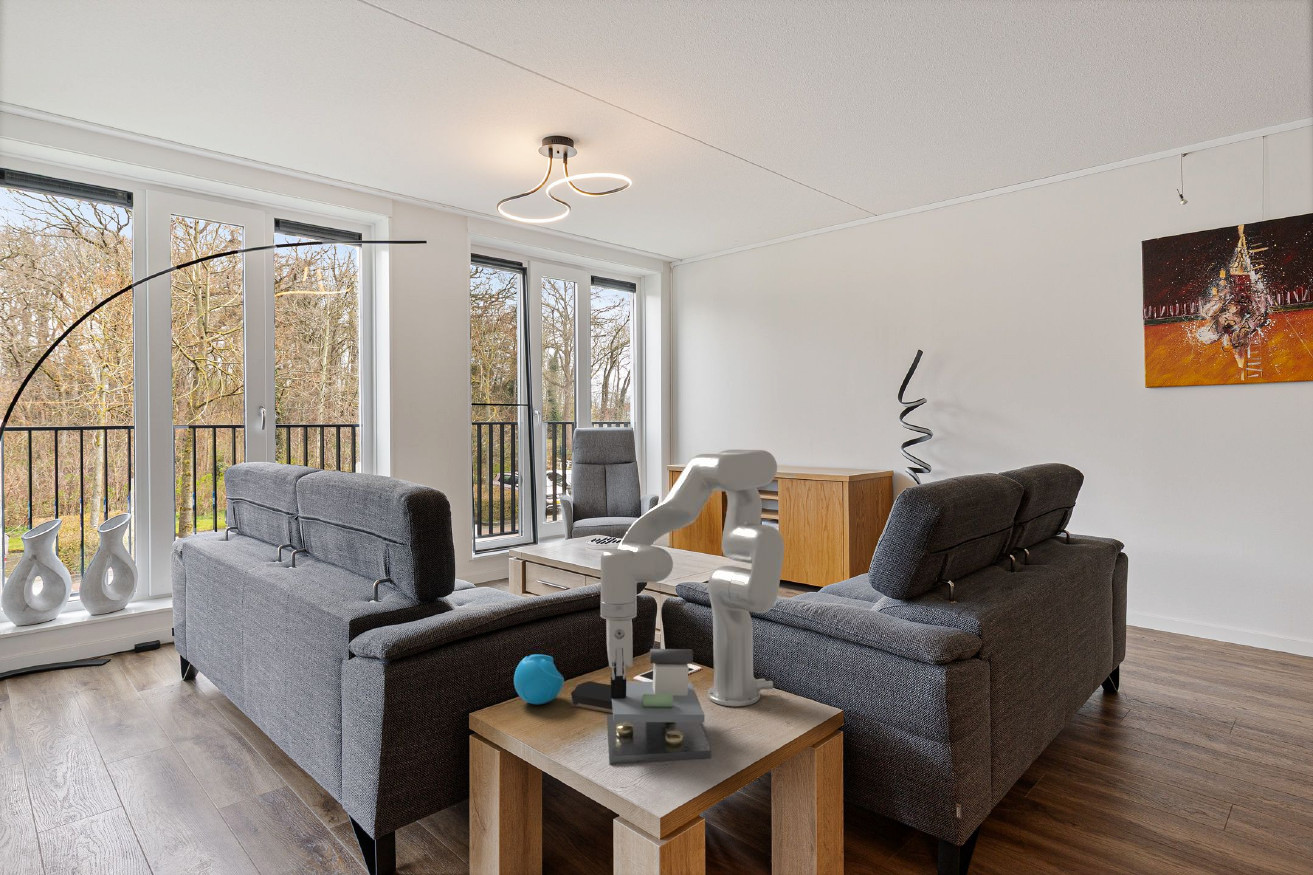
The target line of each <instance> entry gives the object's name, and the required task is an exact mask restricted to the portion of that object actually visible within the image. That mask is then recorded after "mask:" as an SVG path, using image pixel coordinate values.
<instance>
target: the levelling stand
mask: <svg viewBox="0 0 1313 875" xmlns="http://www.w3.org/2000/svg"><path fill="white" fill-rule="evenodd" d="M606 727H607V728H606V731H607V747H608V764H609V765H620V764H621V765H622V764H623V765H624V764H636V763H651V762H652V763H654V762H666V761H667V762H669V761H670V762H671V761H684V760H686V761H687V760H698V759H699V760H702V759H711V758H712V752H711V747H710V745H709V742H708V740H707V737H706V734H705V732H704V730H703V727H702V724H701V722H613V713H611V714H606Z"/></svg>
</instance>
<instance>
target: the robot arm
mask: <svg viewBox="0 0 1313 875" xmlns="http://www.w3.org/2000/svg"><path fill="white" fill-rule="evenodd" d="M777 472H778V464H777V461H776V458H775V456H774V455H773V454H772V453H771V452H769V451H767V450H764V449H725V450H722V451H719V452H718V453H700V454H697V455H695V456H693V457H692V458H690V460H689V461H688V462H687V463H686V466H684V468H683V470H682V471H681V473H680V474H679V476H678V478H677V479H676V481H675V482H674V484H673V486H672V487H671V489H670V490H669V492H668V493H667V495H666V496H665V497H664V499H663V500H662V501H660V503H658V504H657V505H655V506H653V508H651V509H650V510H649V511H647V512H646V513H644V514H643V515H641V516H640V517H639V518H638V519H637V520H635V521H634V522H633V523H632V524H631V526H629V528H628V529H627V531H626V532H625V534H624V535H623V537H622V539H621V541H620V542H619V544H618V545H617V547H616V548H611V549H606V550H604V551H603V552H602V553H601V554H600V555H601V556H600V618H602V619H604V620H606V622H605V626H606V651H607V660H608V666H609V668H611V676H610V685H611V698H612V699H621V698H626V681H627V675H626V668H627V667H629V668H630V669H632V667H633V666H634V662H633V659H634V658H633V655H634V654H633V622H632V619H635V618H636V617H637V613H638V612H637V608H638V607H637V604H638V603H637V586H638V583H659V582H662V581H664V580H666V579H667V578H668V577H669V576H670V575H671V573H672V571H673V568H674V562H673V561H674V560H673V558H672V556H671V553H669V552H668V551H667V550H665V549H664V548H661V547H659V546H655V545H654V546H653V544H654V543H655V542H656V541H657V540H659V538H661V537H663V536H664V535H666V534H668V533H671V532H673V531H676V530H680V529H682V528H685V527H688V526H689V525H692V524H693V523H694V522H695V521H696V520H697V518H698V517H699V515H700V514H701V512H702V510H703V509H704V507H705V505H706V504H707V503H708V500H709V499H710V498H711V496H712V494H713V493H714V492H725V493H726V499H727V507H726V514H725V515H726V516H725V519H724V520H725V521H724V527H723V532H722V539H721V551H722V554H723V556H725V557H726V558H727V559H729V560H732V561H736V562H740V563H745V564H751V567H750V568H751V569H749V568H747V567H746V568H745V567H740V566H736V565H735V566H734V565H722V566H720V567H717V568H715V569H714V570H713V571H712V572H711V575H710V576H709V578H708V584H707V588H708V595H709V596H708V597H709V599H710V604H711V606H710V607H711V612H712V630H713V631H712V634H713V636H712V637H713V638H712V640H713V644H712V647H713V686H711V687H710V688H709V689H708V690H707V697H708V699H709V700H710V701H711V702H713V703H715V704H718V705H721V706H727V707H745V706H750V705H753V704H755V703H757V702H758V701H760V699H761V690H767V691H768V690H774V682H773V680H766V679H765V678H759V679H757V678H756V677H755V676H754V641H753V638H754V637H753V634H754V633H753V632H754V631H753V630H754V628H753V621H752V617H751V614H750V612H751V613H757V614H765V613H768V612H769V611H771V609H772V608H773V607H774V605H775V603H776V601H777V598H778V595H779V588H780V581H781V577H782V576H781V574H782V569H783V563H784V555H785V543H784V538H783V536H782V533H780V531H779V530H778V529H777V528H775V527H773V526H770V525H766V524H761V520H762V512H763V511H762V510H763V503H762V497H761V494H760V492H759V489H758V488H761V487H765V486H767V485H769V484H771V483H772V482H773V480H774V479H775V478H776V475H777Z"/></svg>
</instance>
